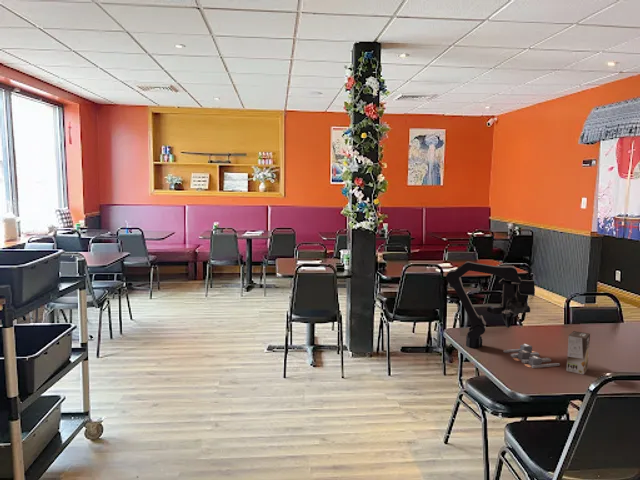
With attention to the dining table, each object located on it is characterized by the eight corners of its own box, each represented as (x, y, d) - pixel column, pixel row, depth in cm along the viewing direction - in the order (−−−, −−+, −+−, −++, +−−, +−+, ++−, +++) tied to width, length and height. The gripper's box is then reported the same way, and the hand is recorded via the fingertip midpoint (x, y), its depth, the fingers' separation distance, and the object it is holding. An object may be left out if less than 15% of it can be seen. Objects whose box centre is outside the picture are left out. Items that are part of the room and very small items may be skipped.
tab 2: (522, 360, 199) (522, 352, 199) (517, 358, 202) (518, 350, 202) (530, 359, 200) (530, 351, 200) (525, 357, 203) (526, 349, 203)
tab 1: (524, 353, 208) (524, 345, 208) (520, 351, 211) (520, 343, 210) (531, 353, 209) (532, 345, 209) (527, 351, 212) (528, 343, 211)
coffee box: (583, 377, 184) (586, 338, 183) (565, 373, 188) (568, 335, 187) (587, 371, 191) (590, 333, 190) (570, 367, 195) (573, 330, 194)
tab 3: (533, 366, 192) (533, 358, 192) (528, 364, 195) (529, 356, 194) (541, 366, 193) (541, 357, 192) (536, 363, 196) (537, 355, 195)
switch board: (529, 371, 190) (529, 366, 190) (500, 354, 210) (500, 350, 210) (562, 368, 194) (563, 363, 194) (531, 352, 213) (531, 348, 213)
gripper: (501, 298, 200) (500, 333, 202) (539, 296, 204) (537, 331, 206) (487, 293, 211) (485, 326, 213) (523, 291, 215) (521, 324, 217)
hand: (507, 327), depth 212 cm, fingers closed
